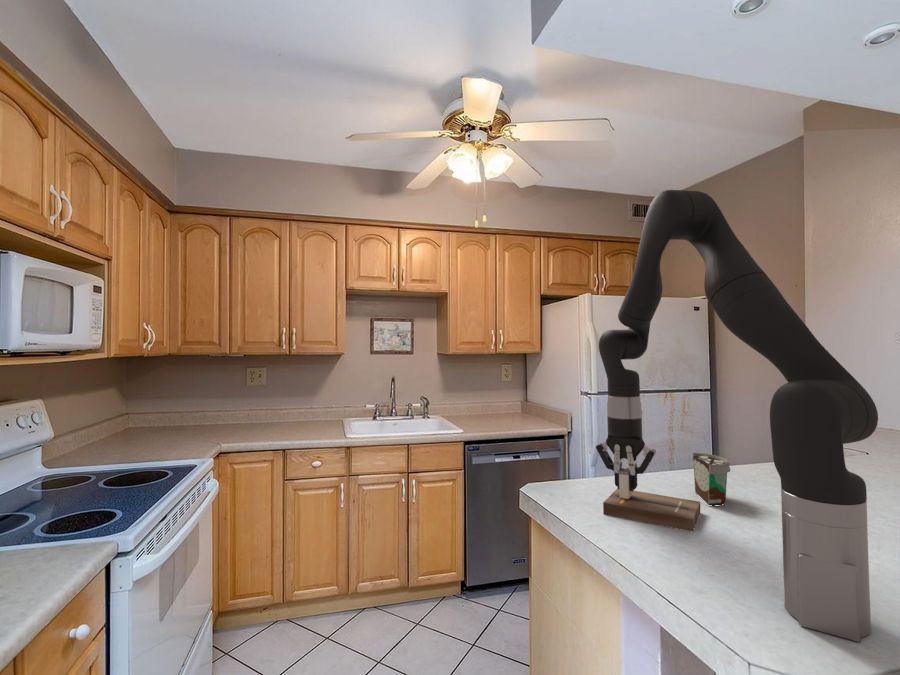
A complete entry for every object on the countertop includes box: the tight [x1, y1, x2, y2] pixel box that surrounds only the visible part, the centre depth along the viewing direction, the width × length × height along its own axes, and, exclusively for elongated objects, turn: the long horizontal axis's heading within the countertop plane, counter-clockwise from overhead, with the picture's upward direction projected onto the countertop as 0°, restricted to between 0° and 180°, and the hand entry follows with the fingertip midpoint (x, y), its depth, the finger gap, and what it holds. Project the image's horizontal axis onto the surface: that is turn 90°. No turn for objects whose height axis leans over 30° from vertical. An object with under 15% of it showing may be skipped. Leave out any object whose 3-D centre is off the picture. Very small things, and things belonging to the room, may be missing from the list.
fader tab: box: [619, 466, 633, 499], centre depth 104 cm, size 4×2×6 cm, turn 144°
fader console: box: [602, 488, 701, 532], centre depth 100 cm, size 12×18×3 cm, turn 54°
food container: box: [692, 452, 731, 507], centre depth 108 cm, size 12×6×10 cm, turn 168°
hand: (626, 488), depth 104 cm, fingers closed on fader tab, 2 cm apart
